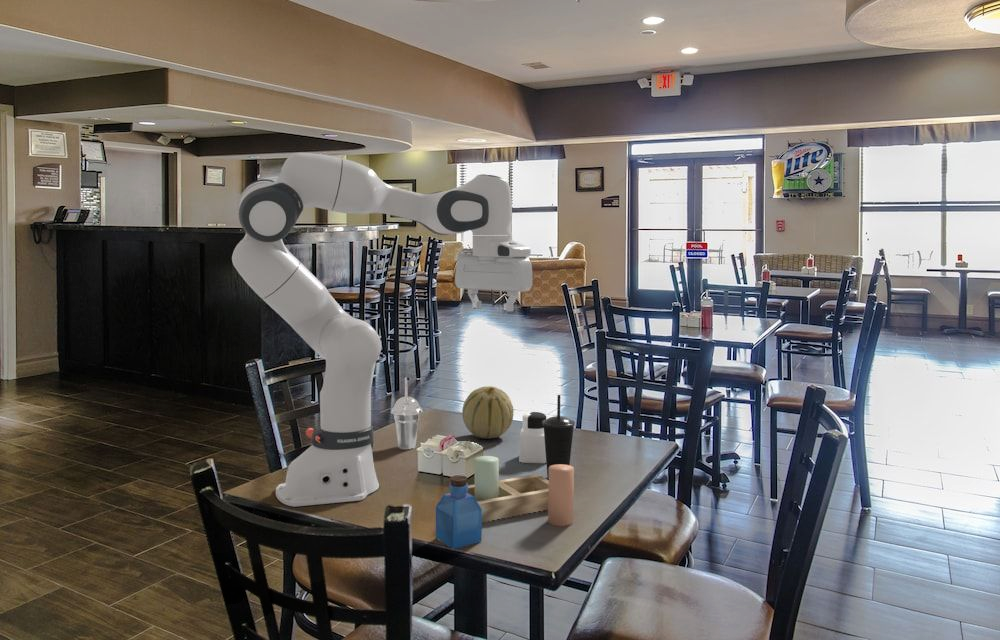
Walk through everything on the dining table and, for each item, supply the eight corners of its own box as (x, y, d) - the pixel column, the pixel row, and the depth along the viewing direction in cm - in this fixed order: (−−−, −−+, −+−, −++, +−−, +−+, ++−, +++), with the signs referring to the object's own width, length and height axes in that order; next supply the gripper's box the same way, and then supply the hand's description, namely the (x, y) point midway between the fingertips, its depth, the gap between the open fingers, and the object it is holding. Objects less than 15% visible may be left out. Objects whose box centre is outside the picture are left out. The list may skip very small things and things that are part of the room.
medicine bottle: (548, 455, 196) (549, 410, 195) (547, 464, 189) (548, 417, 188) (521, 454, 197) (521, 409, 196) (519, 463, 190) (519, 416, 189)
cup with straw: (427, 444, 207) (427, 372, 204) (415, 453, 198) (415, 378, 196) (398, 441, 209) (397, 370, 207) (385, 450, 200) (384, 376, 198)
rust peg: (556, 528, 148) (557, 473, 146) (543, 519, 152) (543, 466, 151) (577, 523, 150) (578, 469, 149) (564, 515, 154) (565, 463, 153)
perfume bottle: (453, 549, 137) (453, 485, 136) (435, 538, 142) (435, 476, 141) (481, 541, 141) (481, 479, 140) (463, 531, 146) (463, 470, 145)
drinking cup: (565, 472, 183) (566, 390, 180) (579, 481, 176) (581, 397, 173) (536, 475, 180) (537, 393, 178) (549, 485, 173) (551, 399, 171)
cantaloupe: (489, 428, 224) (489, 378, 222) (524, 438, 213) (524, 385, 212) (450, 437, 214) (450, 385, 212) (485, 447, 203) (485, 393, 202)
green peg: (481, 516, 153) (481, 464, 152) (470, 509, 158) (470, 457, 156) (502, 512, 156) (503, 460, 154) (491, 505, 160) (491, 454, 159)
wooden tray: (474, 524, 149) (474, 504, 149) (451, 506, 159) (451, 488, 158) (563, 507, 159) (564, 488, 159) (536, 491, 169) (537, 474, 168)
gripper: (448, 248, 173) (449, 308, 175) (518, 249, 160) (518, 313, 162) (467, 248, 178) (467, 306, 180) (536, 248, 165) (536, 311, 167)
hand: (492, 310), depth 171 cm, fingers open, 8 cm apart
